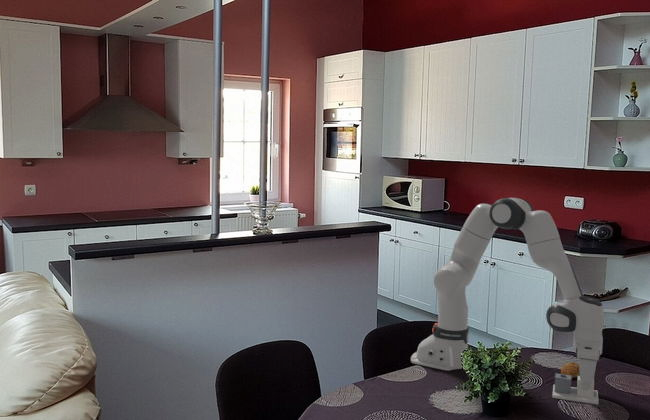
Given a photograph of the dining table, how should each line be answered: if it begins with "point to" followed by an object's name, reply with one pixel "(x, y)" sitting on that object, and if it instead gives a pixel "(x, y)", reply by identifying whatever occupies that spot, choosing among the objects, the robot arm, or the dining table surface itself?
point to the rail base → (576, 397)
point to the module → (585, 393)
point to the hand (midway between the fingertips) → (585, 386)
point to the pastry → (571, 369)
